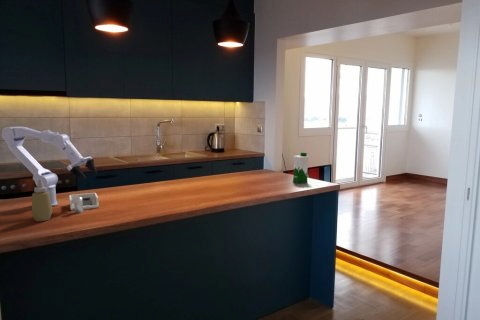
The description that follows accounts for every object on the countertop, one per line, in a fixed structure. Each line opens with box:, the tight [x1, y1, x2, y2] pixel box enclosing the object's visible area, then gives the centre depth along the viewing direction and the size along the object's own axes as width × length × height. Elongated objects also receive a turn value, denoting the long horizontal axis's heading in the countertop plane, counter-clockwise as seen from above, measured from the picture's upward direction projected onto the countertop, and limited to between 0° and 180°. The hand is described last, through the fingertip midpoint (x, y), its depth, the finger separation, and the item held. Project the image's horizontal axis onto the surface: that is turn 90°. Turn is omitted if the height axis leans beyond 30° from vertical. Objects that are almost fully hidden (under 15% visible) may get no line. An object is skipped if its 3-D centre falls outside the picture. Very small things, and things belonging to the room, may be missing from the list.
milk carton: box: [292, 152, 310, 185], centre depth 245 cm, size 9×9×20 cm
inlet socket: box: [82, 198, 92, 206], centre depth 183 cm, size 7×7×2 cm
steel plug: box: [74, 197, 84, 214], centre depth 172 cm, size 4×4×7 cm
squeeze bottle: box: [31, 179, 53, 222], centre depth 159 cm, size 8×8×18 cm
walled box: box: [68, 192, 100, 212], centre depth 183 cm, size 13×13×5 cm
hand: (90, 176), depth 180 cm, fingers open, 7 cm apart
